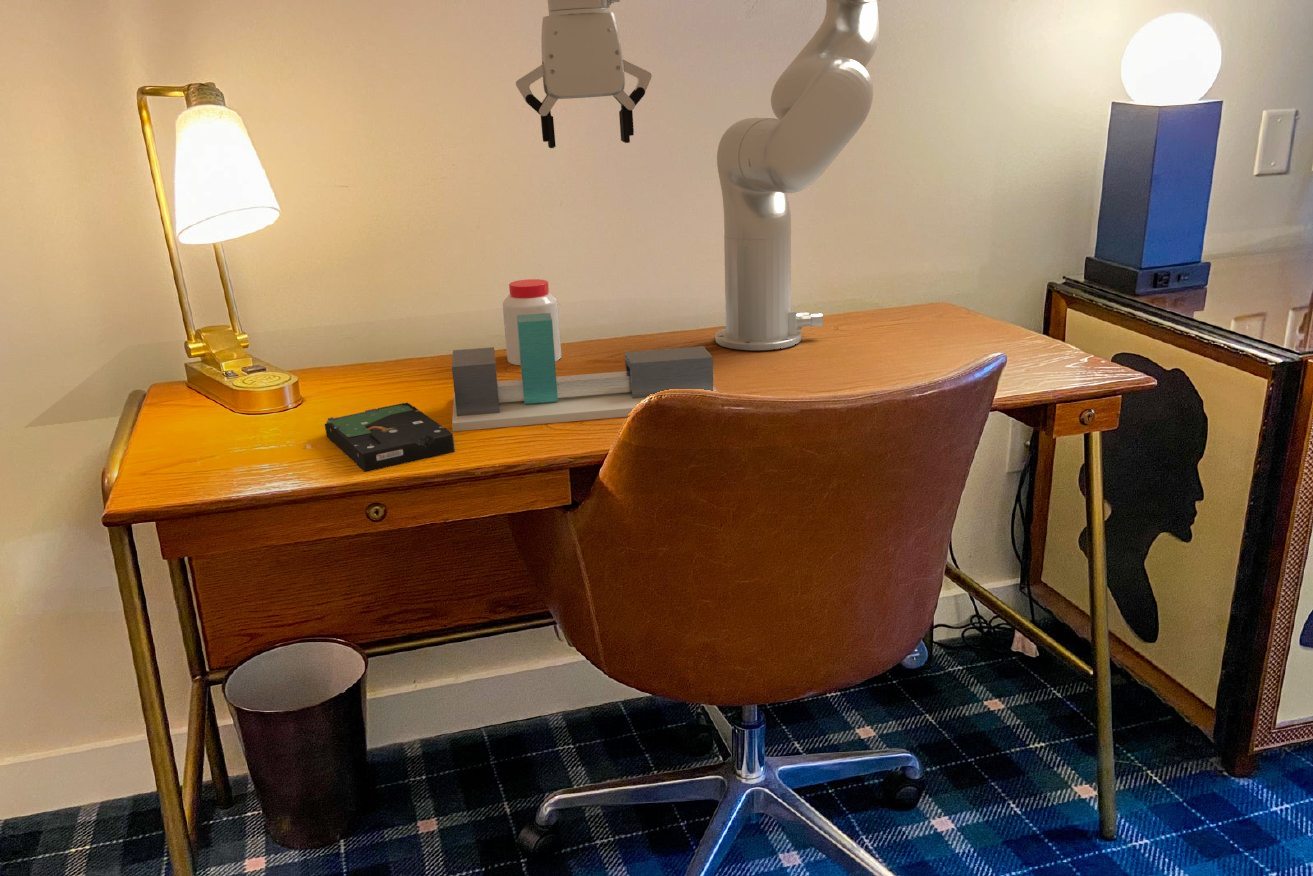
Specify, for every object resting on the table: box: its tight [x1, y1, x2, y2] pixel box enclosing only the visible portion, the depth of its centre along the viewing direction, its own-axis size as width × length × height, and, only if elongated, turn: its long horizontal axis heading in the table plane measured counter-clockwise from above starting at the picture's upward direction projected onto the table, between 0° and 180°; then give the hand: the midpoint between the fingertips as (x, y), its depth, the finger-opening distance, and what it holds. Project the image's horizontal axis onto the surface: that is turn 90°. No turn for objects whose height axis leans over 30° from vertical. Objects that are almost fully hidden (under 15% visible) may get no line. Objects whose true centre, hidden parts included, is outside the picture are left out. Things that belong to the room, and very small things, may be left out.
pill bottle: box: [502, 278, 562, 366], centre depth 151 cm, size 8×8×11 cm
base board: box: [451, 385, 718, 432], centre depth 131 cm, size 32×13×1 cm, turn 99°
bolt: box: [497, 313, 631, 404], centre depth 129 cm, size 21×4×10 cm, turn 99°
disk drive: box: [324, 402, 456, 473], centre depth 119 cm, size 10×3×15 cm
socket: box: [451, 346, 500, 416], centre depth 128 cm, size 5×8×6 cm, turn 9°
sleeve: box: [624, 345, 714, 399], centre depth 131 cm, size 10×6×4 cm, turn 99°
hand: (588, 144), depth 138 cm, fingers open, 9 cm apart
